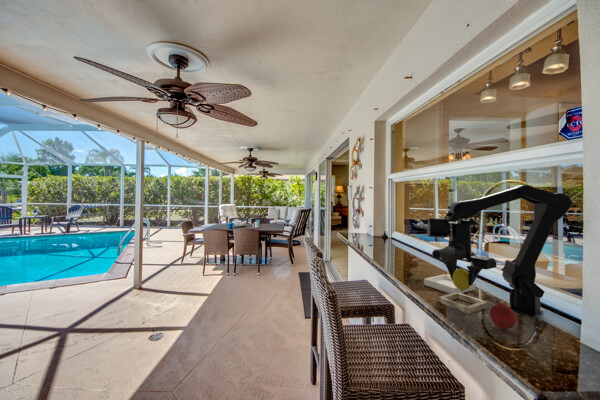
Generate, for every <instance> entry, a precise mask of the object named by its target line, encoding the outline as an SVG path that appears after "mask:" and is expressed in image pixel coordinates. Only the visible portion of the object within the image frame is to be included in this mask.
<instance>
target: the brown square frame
mask: <svg viewBox="0 0 600 400" xmlns="http://www.w3.org/2000/svg"><path fill="white" fill-rule="evenodd" d="M457 299H459V300H462V301H464V302H467V303H470V305H465V304H462V303H460V302H459V303H458V302H457V301H454V300H457ZM437 301H438V303H441V304H443V305H446V306H448V307H450V308H452V309H455V310H458V311H460V312H462V313H465V314H466V315H470V314H474V313H475V312H478V311H479V312H480V311H482V310H486V309H488V308H489V302H488V301H485V300H483V299H479V298H476V297H474V296H470V295H467V294H464V293H459V292H455V293H451V294H449V293H447V294H444V295H440V296H438V300H437Z"/></svg>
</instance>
